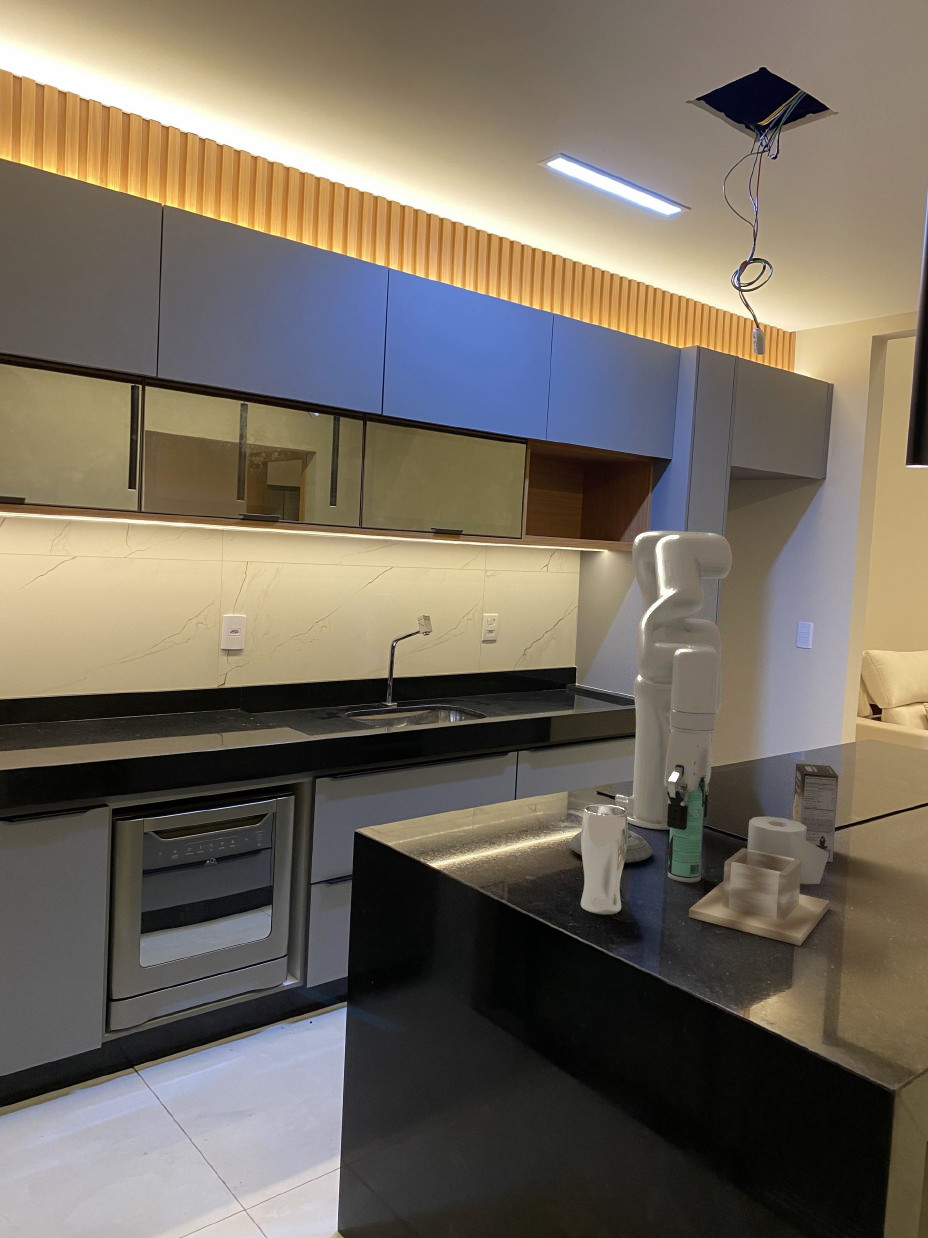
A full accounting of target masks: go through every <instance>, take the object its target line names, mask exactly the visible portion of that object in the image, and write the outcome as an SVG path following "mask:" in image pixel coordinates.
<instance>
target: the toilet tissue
mask: <svg viewBox="0 0 928 1238" xmlns="http://www.w3.org/2000/svg"><path fill="white" fill-rule="evenodd" d="M806 832H807V827H806V826H805V825H803V824H801V823H800V822H797V821H793V819H789V818H784V817H776V816H765V815H764V816H756V817H755V816H754V817H752V818H751V819H750V820H749V822H748V835H747V848H746V849H750V850H755V851H760V852H765V853H770V854H774V855H779V856H784V857H789V858H794V859H799V860H802V861H801V876H800V885H820V883H821V880H822V878H823V874H824V872H825V867H826V865H827V859H828V855H829V853H828V852H826V851H824V850H822V849H820V848H819V847H817V846H815V845H813V844H811V843H809V842H808V841H806Z"/></svg>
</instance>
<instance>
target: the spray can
mask: <svg viewBox="0 0 928 1238" xmlns="http://www.w3.org/2000/svg"><path fill="white" fill-rule="evenodd" d="M683 776H684V775H683ZM705 778H706V775H705V776H703V777H701V778H700V779H701V780H700V782H699V785H698V788H697V790H695V791H693V792H689V795H688V799H687V802H686V805H687V806H688V815H687V828H686V829H685V830H680V829H676V828H671V827H670V830H669V841H668V842H669V843H668V844H669V845H668V859H667V860H668V861H667V862H668V863H667V864H668V865H667V876H668V877H669V879H671V880H673V881H677V882H682V883H697V882H699V881H701V878H702V863H703V848H704V847H703V846H704V832H705V831H704V828H705V818H704V814H705V797H706V795H707V794H706V779H705ZM678 786H679V785H678ZM684 787H685V786H684ZM680 794H681V796H682V795H683V793H682V792H680Z"/></svg>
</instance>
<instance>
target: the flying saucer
mask: <svg viewBox="0 0 928 1238" xmlns="http://www.w3.org/2000/svg"><path fill="white" fill-rule="evenodd" d="M568 846H569V848H570V849H571V850H572V851H573V852H575V853H577V855H581V856H582V850H581V831H579V832H577V833H576V834H575V835H573V837H572V838H571V839H570V841H569V842H568ZM653 854H654V853H653V849H652V847H651V845H650V844H649V842H647V841H646V839H645V838H643V837H642V836H641V835H640V834H638V833H637V832H634V831H632V830H630V829H628V842H627V851H626V856H625V861H624V864H625V863H627V864H628V863H636V862H641V861H644V860H646V859H648V858H650V857H651V856H652V855H653Z"/></svg>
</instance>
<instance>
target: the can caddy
mask: <svg viewBox="0 0 928 1238" xmlns="http://www.w3.org/2000/svg"><path fill="white" fill-rule="evenodd" d="M801 861H802V860H799V859H794V858H789V857H784V856H779V855H774V854H770V853H765V852H760V851H755V850H750V849H747V848H745V847H742V848H740V850H738V851H736V852H735V853H734V854H733V855H731V857H729V858H727V859H726V860H725V861H724V867H723V870H724V871H723V881H722V882H720V883H719V884H718V885H716V886H715V887H714V888H713V889H711V891H710V892H708V893H706V895H704V896H703V897H702V898H701V899H700V900H698V901H697V902H696V903H695V904H693V906H691V907H690V908H689V909H688V918H691V919H695V920H699V921H703V922H707V923H711V924H715V925H717V926H722V927H727V928H729V929H734V930H737V931H742V932H744V933H749V934H754V935H757V936H760V937H766V938H768V939H773V940H777V941H779V942H780V941H781V942H785V943H788V944H791V945H796V946H801V945H802V944H803V942H804V941H805V940H806V939H807V937H808V936H809V935H810V933H812V931H813V930H814V928H815V927H816V926H817V925H818V923H819V922H820V920H821V919H822V918H823V916H824V915H825V914H826V913H827V912H828V910H829V909H830V900H828V899H827V900H826V899H823V898H819V897H814V896H810V895H805V894H801V893H800V891H801V890H800V889H801V884H800V876H801Z"/></svg>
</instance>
